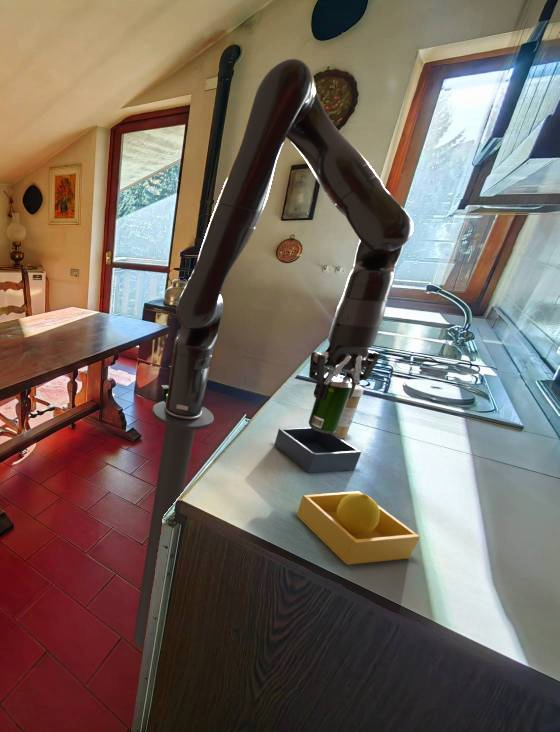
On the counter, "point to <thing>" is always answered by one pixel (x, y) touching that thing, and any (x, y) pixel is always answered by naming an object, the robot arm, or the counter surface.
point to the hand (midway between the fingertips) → (331, 397)
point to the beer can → (331, 406)
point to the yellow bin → (356, 548)
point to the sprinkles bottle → (349, 412)
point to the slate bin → (317, 450)
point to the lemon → (358, 513)
